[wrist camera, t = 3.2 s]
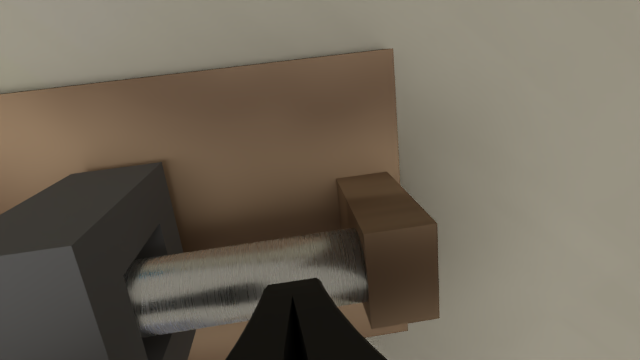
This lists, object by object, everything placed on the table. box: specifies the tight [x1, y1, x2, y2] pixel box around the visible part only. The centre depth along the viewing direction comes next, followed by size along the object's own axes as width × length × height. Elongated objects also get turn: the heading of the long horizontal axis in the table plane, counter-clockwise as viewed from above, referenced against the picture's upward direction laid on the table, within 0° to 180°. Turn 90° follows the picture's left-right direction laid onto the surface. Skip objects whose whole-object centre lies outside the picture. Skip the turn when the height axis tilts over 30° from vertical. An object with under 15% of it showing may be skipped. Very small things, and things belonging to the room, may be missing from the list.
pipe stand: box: [0, 49, 439, 360], centre depth 13 cm, size 12×27×6 cm, turn 96°
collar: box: [0, 162, 196, 360], centre depth 12 cm, size 6×3×6 cm, turn 6°
